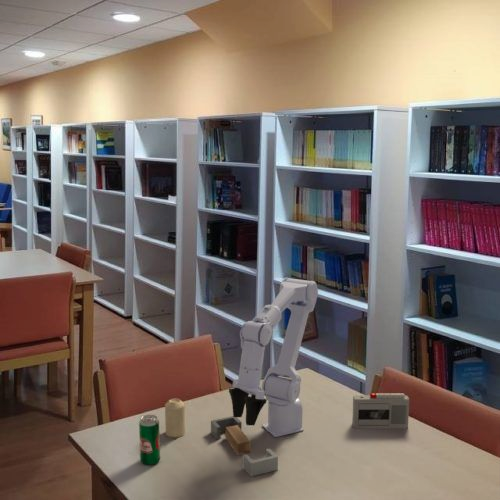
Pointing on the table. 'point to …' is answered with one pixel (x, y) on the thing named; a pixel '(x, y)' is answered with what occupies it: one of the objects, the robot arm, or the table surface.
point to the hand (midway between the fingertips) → (243, 420)
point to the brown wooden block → (237, 440)
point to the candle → (175, 418)
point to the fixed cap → (223, 425)
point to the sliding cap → (261, 464)
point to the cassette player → (380, 410)
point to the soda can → (149, 440)
